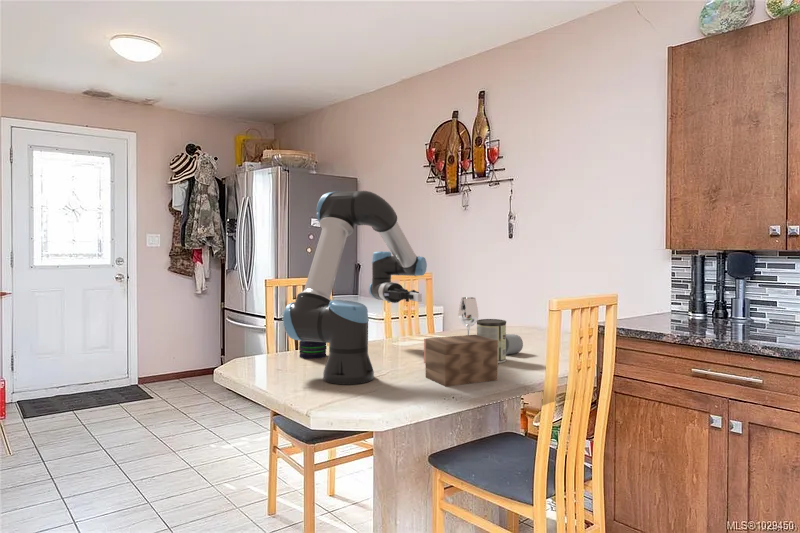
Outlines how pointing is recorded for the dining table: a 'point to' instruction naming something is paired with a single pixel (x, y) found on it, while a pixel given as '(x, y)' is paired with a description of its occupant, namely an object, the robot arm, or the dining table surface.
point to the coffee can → (494, 334)
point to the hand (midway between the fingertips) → (419, 297)
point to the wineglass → (468, 312)
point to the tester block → (461, 359)
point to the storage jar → (312, 349)
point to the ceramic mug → (513, 344)
